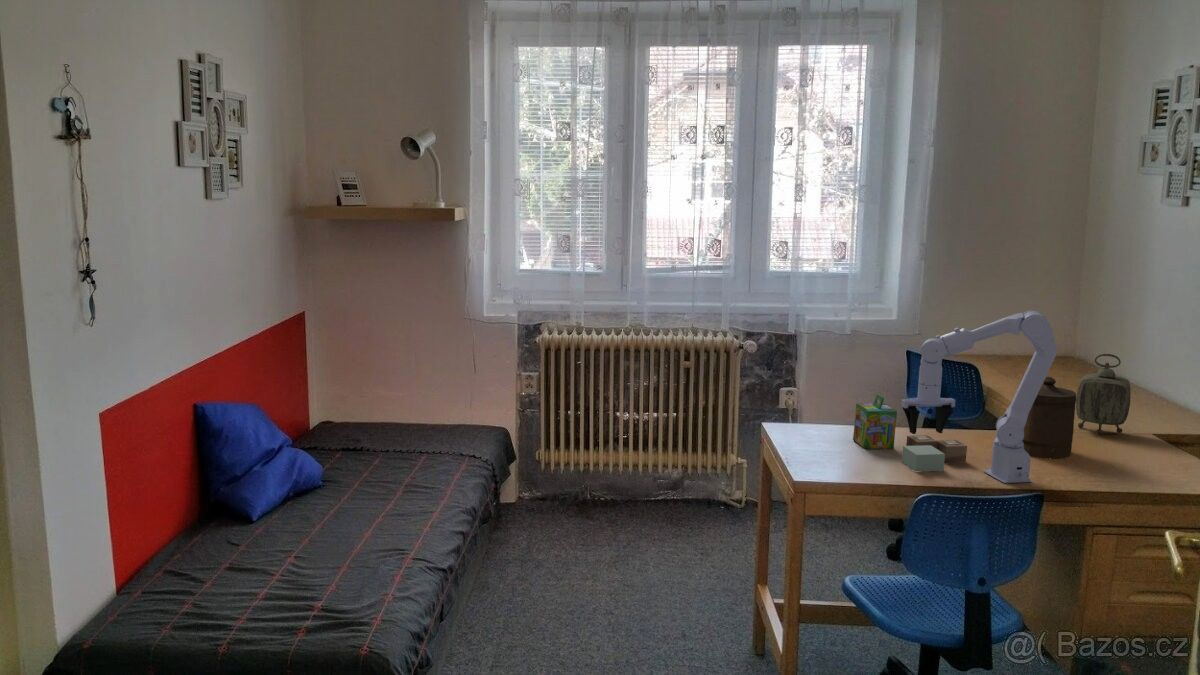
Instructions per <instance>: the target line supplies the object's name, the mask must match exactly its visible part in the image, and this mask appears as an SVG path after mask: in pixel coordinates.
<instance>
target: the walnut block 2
mask: <svg viewBox="0 0 1200 675" xmlns="http://www.w3.org/2000/svg"><path fill="white" fill-rule="evenodd" d="M935 440H936V439H935ZM936 441H937V449H938V450H939V451H941V452H942V453H944V454H945V461H944V464H945V463H948V464H966V463H967V453H968V445H966V444H965V443H963V442H961V441H959V440H957V439H940V440H939V439H937V440H936Z"/></svg>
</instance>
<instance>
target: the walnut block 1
mask: <svg viewBox="0 0 1200 675" xmlns="http://www.w3.org/2000/svg"><path fill="white" fill-rule="evenodd" d="M924 445H931V446H933V447H934V448H936V449H937V441H936V439H934V438H933V437H931V436H929V435H926V434H925V435H924V434H923V435H922V434H919V435H916V434H915V435H906V445H905V446H924Z"/></svg>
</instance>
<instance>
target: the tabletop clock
mask: <svg viewBox="0 0 1200 675" xmlns="http://www.w3.org/2000/svg"><path fill="white" fill-rule="evenodd" d="M1101 357H1110V358H1113V359H1116V360H1117V361H1118V363H1117V364H1114V365H1110V363H1109V362H1106V363H1105V364H1101V363H1099V362H1098V361H1097V359H1098V358H1101ZM1094 362H1095V364H1096V365H1097V366H1099V367H1100V369H1098V371H1097V372H1096V373H1087V374H1085V375H1084V374H1083V376H1082V377H1081V379H1080V381H1079V384H1078V388H1077V392H1076V403H1075V413H1076V415H1077V418H1078V419H1079V420H1081V422H1079V423H1078V424H1077V427H1078V428H1079V429H1082V428H1084V425H1085V423H1086V422H1087V423H1093V424H1098V429H1096V434H1097V433H1098V434H1097V435H1102V434H1103V430H1102V425H1106V426H1107V425H1109V426H1115V428H1116V432H1117V433H1118V434H1122V433H1123V429H1122V427H1120V426H1119V425H1124V424H1125V422H1126V420H1127V419H1128V416H1129V413H1130V412H1129V410H1130V408H1131V393H1132V392H1131V390H1132V389H1131V383H1130V381H1129V379H1127V378H1125V377H1123V376H1118V375H1116V374H1115V371H1114V370H1113V369H1112V368H1117V367H1118V366H1120V365H1121V359H1120V358H1119V357H1118V356H1117V355H1115V354H1110V353H1102V354H1098V355H1097V356H1095V357H1094ZM1101 367H1102V368H1101Z"/></svg>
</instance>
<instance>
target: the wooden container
mask: <svg viewBox="0 0 1200 675" xmlns="http://www.w3.org/2000/svg"><path fill="white" fill-rule="evenodd" d="M1056 383H1057V381H1056V379H1055V378H1053V377H1052V376H1046V378H1045V380H1044V382H1043V384H1042V386H1041V388H1040V390H1039V392H1038V395H1037V397H1036V399H1035V401H1034V403H1033V405H1032V407H1031V409H1030V412H1029V414H1028V417H1027V421H1026V424H1025V426H1024V438H1023V440H1022V441H1023V443H1024V445H1023V446H1024V450H1025V451H1026V452H1027V453H1028V454H1029V456H1030V457H1033V456H1034V458H1038V457H1039V459H1045V458H1048V460H1062V459H1061V458H1063V459H1067V458H1066V457H1068V458H1070V457H1071V455H1072V450H1073V449H1072V448H1073V438H1074V428H1075V426H1074V425H1075V413H1076V397H1077V392H1075V391H1074V390H1071V389H1067V388H1063V387H1060V386H1059V387H1058V386H1056V385H1055V384H1056ZM1069 456H1070V457H1069ZM1049 458H1051V459H1049Z"/></svg>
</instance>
